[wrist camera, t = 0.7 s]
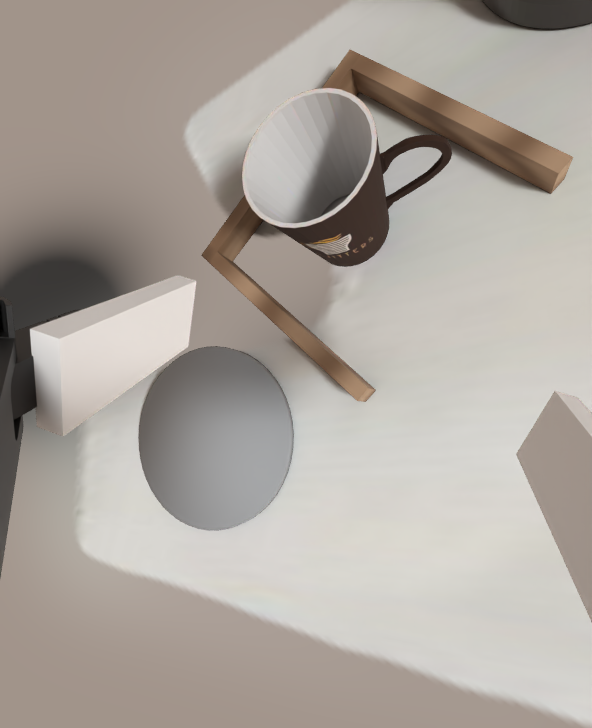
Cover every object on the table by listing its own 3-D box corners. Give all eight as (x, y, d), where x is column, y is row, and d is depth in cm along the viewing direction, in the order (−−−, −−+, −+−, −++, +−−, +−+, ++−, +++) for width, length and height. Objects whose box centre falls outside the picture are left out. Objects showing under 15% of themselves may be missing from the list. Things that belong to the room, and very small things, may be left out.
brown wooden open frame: (564, 179, 27) (573, 157, 24) (365, 401, 30) (357, 400, 28) (357, 73, 34) (349, 49, 31) (217, 264, 37) (201, 255, 35)
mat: (290, 339, 34) (287, 337, 33) (296, 536, 31) (292, 539, 31) (146, 355, 40) (140, 354, 39) (143, 520, 38) (136, 522, 37)
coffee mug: (287, 264, 34) (223, 212, 25) (324, 171, 34) (272, 83, 25) (415, 303, 30) (392, 256, 21) (460, 195, 29) (457, 97, 20)
